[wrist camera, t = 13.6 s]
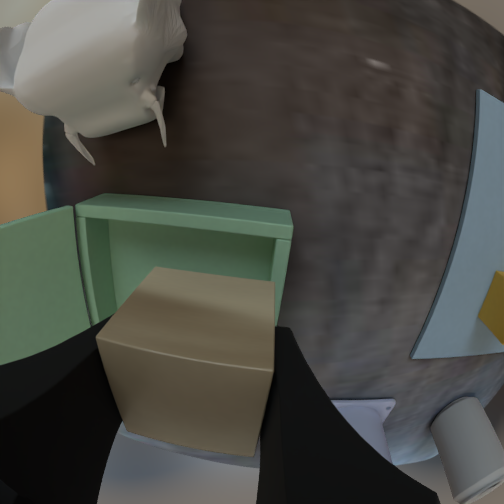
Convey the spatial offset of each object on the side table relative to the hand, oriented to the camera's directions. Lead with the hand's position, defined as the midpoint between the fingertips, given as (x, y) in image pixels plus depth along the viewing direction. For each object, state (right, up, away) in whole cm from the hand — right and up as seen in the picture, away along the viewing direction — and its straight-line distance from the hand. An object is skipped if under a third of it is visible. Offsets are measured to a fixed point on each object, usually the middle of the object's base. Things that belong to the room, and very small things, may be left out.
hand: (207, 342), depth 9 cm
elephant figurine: (-5, +14, +4) cm, 16 cm away
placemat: (+22, +3, +6) cm, 23 cm away
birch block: (0, 0, +1) cm, 1 cm away
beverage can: (+24, -15, +13) cm, 31 cm away
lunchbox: (-3, 0, +9) cm, 10 cm away
